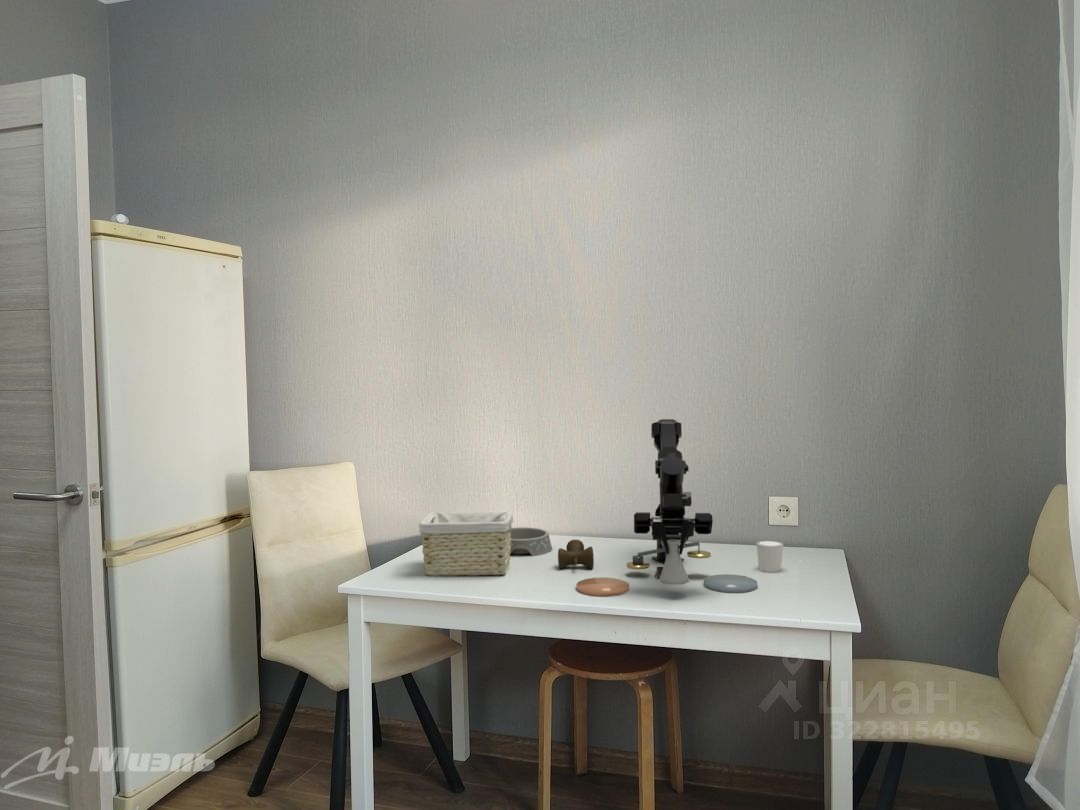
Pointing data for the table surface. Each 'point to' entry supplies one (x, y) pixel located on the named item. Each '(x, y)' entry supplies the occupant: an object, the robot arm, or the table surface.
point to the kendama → (575, 555)
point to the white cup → (769, 555)
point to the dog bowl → (530, 541)
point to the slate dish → (730, 583)
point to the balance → (640, 564)
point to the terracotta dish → (602, 586)
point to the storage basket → (466, 543)
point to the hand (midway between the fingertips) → (674, 553)
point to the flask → (673, 566)
